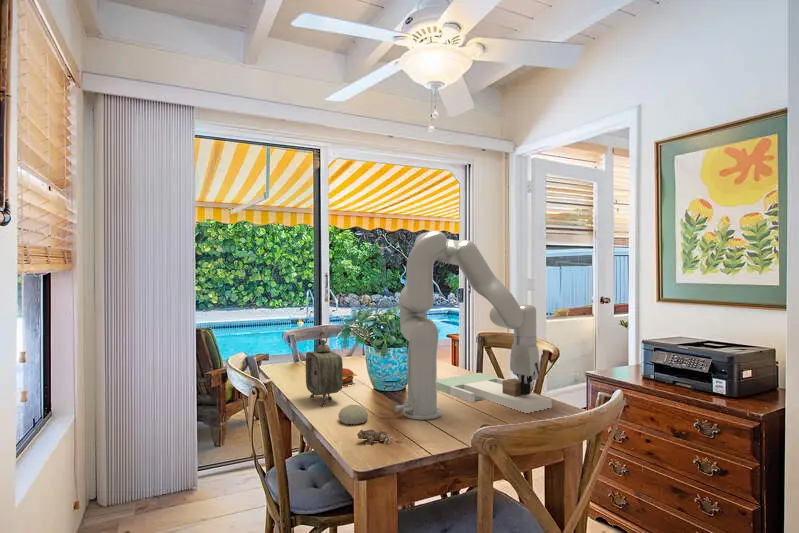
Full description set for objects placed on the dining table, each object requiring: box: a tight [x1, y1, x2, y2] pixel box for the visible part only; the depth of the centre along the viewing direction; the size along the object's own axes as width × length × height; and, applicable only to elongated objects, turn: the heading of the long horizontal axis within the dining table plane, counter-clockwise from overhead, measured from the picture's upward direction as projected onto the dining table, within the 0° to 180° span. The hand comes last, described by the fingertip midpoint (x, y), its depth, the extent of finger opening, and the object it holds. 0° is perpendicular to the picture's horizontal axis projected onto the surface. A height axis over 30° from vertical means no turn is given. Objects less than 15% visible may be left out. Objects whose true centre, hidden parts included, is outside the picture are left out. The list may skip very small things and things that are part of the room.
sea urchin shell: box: [337, 404, 369, 426], centre depth 153 cm, size 9×8×8 cm
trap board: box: [437, 372, 553, 414], centre depth 182 cm, size 25×44×3 cm, turn 32°
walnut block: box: [503, 377, 522, 397], centre depth 174 cm, size 6×6×4 cm
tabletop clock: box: [305, 331, 344, 407], centre depth 175 cm, size 14×9×25 cm, turn 29°
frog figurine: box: [356, 428, 391, 446], centre depth 137 cm, size 12×12×4 cm
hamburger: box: [342, 367, 358, 386], centre depth 200 cm, size 9×10×7 cm
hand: (525, 394), depth 169 cm, fingers closed
